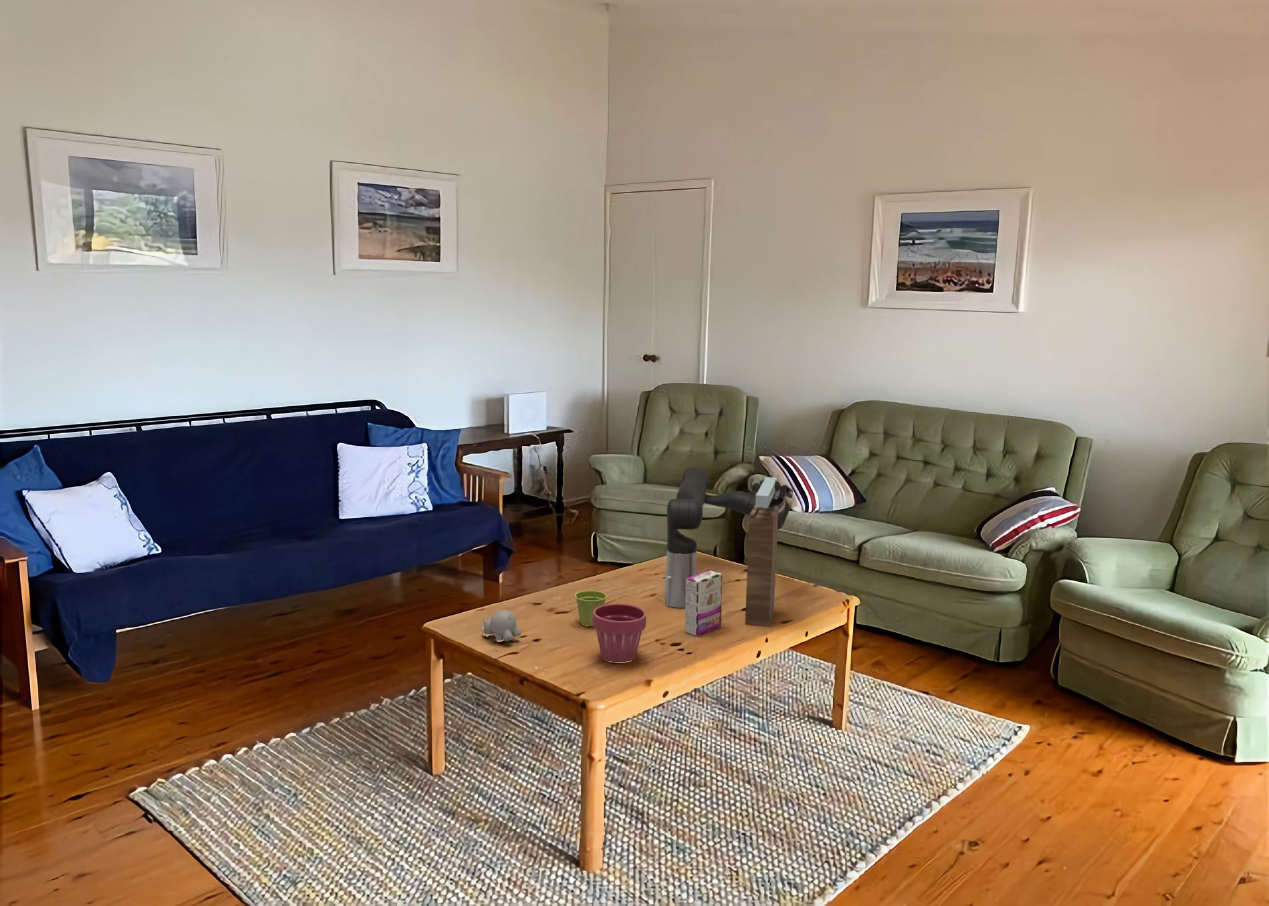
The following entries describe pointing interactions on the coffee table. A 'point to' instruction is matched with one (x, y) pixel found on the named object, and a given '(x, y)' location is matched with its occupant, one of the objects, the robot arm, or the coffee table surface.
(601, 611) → the plant pot
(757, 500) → the rail
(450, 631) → the coffee table surface
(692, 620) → the candy bar box
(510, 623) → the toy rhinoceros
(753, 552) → the post
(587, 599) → the plant pot
